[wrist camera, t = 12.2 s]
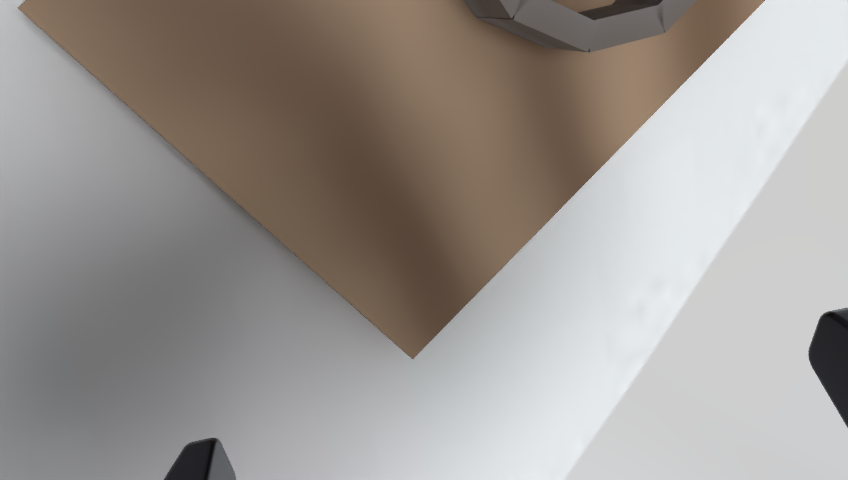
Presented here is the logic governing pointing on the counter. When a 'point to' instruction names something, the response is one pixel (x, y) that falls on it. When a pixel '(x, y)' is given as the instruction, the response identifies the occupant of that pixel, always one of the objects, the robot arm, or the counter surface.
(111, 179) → the counter surface
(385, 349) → the counter surface
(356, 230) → the board
